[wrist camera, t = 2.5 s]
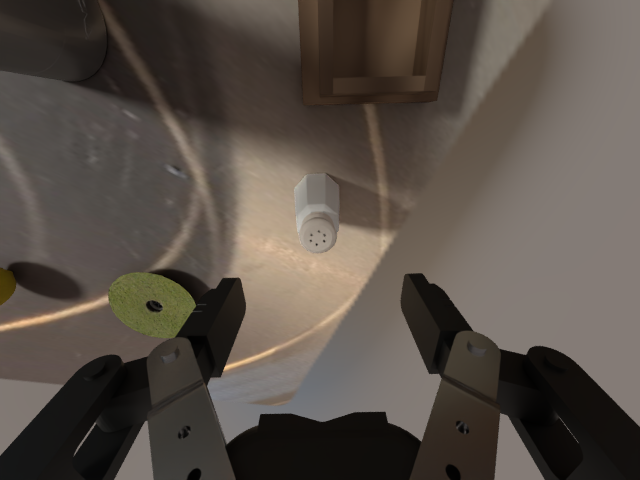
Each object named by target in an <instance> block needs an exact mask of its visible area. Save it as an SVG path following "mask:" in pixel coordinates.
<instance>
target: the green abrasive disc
mask: <svg viewBox="0 0 640 480" xmlns="http://www.w3.org/2000/svg"><path fill="white" fill-rule="evenodd" d="M108 296H109V303H110V306H111V308H112V310H113V312H114V313H115V314H116V316H117V317H118V318H119V319H120V320H121V321H122V322H123V323H124V324H125V325H127V326H128V327H130V328H132V329H134V330H135V331H138V332H140V333H142V334H145V335H148V336H152V337H159V338H173V337H175V336H176V335H177V333H178V332H179V331H180V329H181V328H182V326H183V325H184V323H185V322H186V320H187V319H188V317H189V316H190V314H191V313H192V312H193V310H194V308H195V307H196V304H195V302H194V300H193V298H192V296H191V295H190V294H189V292H187V291H186V290H185V289H184V288H183V287H181V286H180V285H179V284H177V283H175V282H174V281H172V280H170V279H168V278H165V277H163V276H160V275H156V274H151V273H144V272H142V273H141V272H139V273H138V272H136V273H130V274H126V275H124V276H121V277H119V278H118V279H116V281H114V282H113V283H112V285H111V286H110V289H109V295H108Z"/></svg>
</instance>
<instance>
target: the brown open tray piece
mask: <svg viewBox="0 0 640 480" xmlns="http://www.w3.org/2000/svg"><path fill="white" fill-rule="evenodd" d="M453 1H454V0H298V7H299V28H300V49H301V69H302V90H303V105H338V104H375V103H412V102H431V101H437V98H438V92H439V86H440V80H441V74H442V68H443V62H444V56H445V50H446V44H447V38H448V32H449V26H450V20H451V13H452V7H453Z"/></svg>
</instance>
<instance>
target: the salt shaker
mask: <svg viewBox="0 0 640 480" xmlns="http://www.w3.org/2000/svg"><path fill="white" fill-rule="evenodd" d="M294 194H295V212H296V222H297V231H298V234H299V241H300V243H301V245H302V246H303V248H305V249H306V250H307V251H310V252H312V253H323V252H326V251H328V250H330V249H331V248H332V247H333V246H334V244H335V242H336V239H337V232H338V230H339V207H340V199H339V185H338V184H337V183H336V182H335V181H333V180H332V179H331V178H330V177H329V176H328V175H327V174H326V173H318V174H306V175H305V176H304V177H303V179H302V180H301V181H300V182H299V183H298V185H297V186H296V187H295V188H294Z"/></svg>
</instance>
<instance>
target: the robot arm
mask: <svg viewBox="0 0 640 480" xmlns="http://www.w3.org/2000/svg"><path fill="white" fill-rule="evenodd" d="M106 48H107V35H106V27H105V23H104V19H103V14H102V12H101V9H100V7H99V5H98V2H97V0H0V71H7V72H13V73H18V74H24V75H31V76H37V77H43V78H50V79H56V80H62V81H81V80H84V79H87V78H89V77H90V76H92V75H93V74H95V73H96V72H97V70H98V69H99V68H100V67H101V65H102V63H103V60H104V58H105V55H106ZM401 308H402V312H403V314H404V316H405V319H406V321H407V324H408V326H409V328H410V331H411V332H412V335H413V338H414V340H415V342H416V345H417V347H418V349H419V351H420V354H421V356H422V358H423V361H424V363H425V365H426V368H427V370H428V372H429V374H440V376H441V378H442V379H441V382H440V386H439V389H438V392H437V395H436V398H435V402H434V404H433V407H432V411H431V414H430V417H429V420H428V423H427V426H426V430H425V432H424V436H423V439H422V442H421V441H420V440H419V439H418V438H416V437H415V436H413V435H412V434H411V433H409V432H408V431H406V430H404V429H402V428H401V427H398V426H396V425H393V424H390V423H388V421H387V417H386V412H355V413H351V414H348V415H345V416H342V417H339V418H335V419H332V420H329V421H326V422H319V421H316V420H312V419H308V418H305V417H301V416H298V415H294V414H261V415H260V419H259V425H258V426H255V427H252V428H250V429H248V430H246V431H244V432H243V433H241V434H239V435H238V436H237V437H235V438H234V439H233V440H231V441H230V442H229V443H228V444H227V442H226V439H225V437H224V434H223V431H222V428H221V425H220V422H219V419H218V417H217V414H216V411H215V408H214V405H213V402H212V399H211V396H210V393H209V390H208V388H207V385H208V382H209V380H210V378H213V377H221V375H222V372H223V370H224V367H225V365H226V362H227V360H228V357H229V354H230V352H231V349H232V347H233V344H234V341H235V339H236V336H237V334H238V331H239V328H240V326H241V323H242V321H243V318H244V315H245V311H246V302H245V297H244V293H243V288H242V283H241V280H240V278H223V279H222V280H221V281H220V283H219V285H218V286H217V288H216V289H211V290H209V291H208V292H207V293H206V294H204V295H203V296H202V298H201V299H200V301H199V302H198V304H197V306H196V307H195V308H194V310H193V312H192V313H191V314H190V316H189V317H188V319H187V320H186V322H185V323H184V325H183V326H182V328H181V329H180V331H179V332H178V333H177V335H176V336H175V338H172V339H169V340H167V341H165V342H163V343H161V344H159V345H158V346H157V347H156V348H155V349H153V351H152V352H151V353H150V354H149V356H148V357H144V358H141V359H137V360H134V361H130V362H127V363H123V361H122V360H121V358H120V357H119V356H117V355H106V356H102V357H99V358H97V359H94V360H93V361H91V362H89V363H87V364H86V365H84V366H83V367H82V368H80V369H79V370H78V371H77V372H76V373H75V374H74V375H73V376H72V377H71V378H70V379H69V380H68V382H67V383H66V384H65V385H64V386H63V387H62V388H61V389H60V391H59V392H58V393H57V394H56V395H55V396H54V397H53V398H52V399H51V400H50V402H49V403H48V404H47V405H46V406H45V407H44V408H43V409H42V410H41V411H40V413H39V414H38V415H37V416H36V417H35V418H34V419H33V420H32V422H30V424H29V425H28V426H27V427H26V428H25V429H24V430H23V431H22V432H21V433H20V435H19V436H18V437H17V438H16V439H15V440H14V441H13V442H12V443H11V444H10V446H9V447H8V448H7V449H6V450H5V451H4V452H3V453H2V454H1V456H0V480H114V478H115V477H116V475H117V473H118V471H119V469H120V467H121V465H122V463H123V462H124V460H125V458H126V456H127V454H128V452H129V450H130V448H131V446H132V444H133V443H134V440H135V439H136V437H137V435H138V433H139V431H140V429H141V427H142V426H143V424H144V422H145V421H147V420H148V429H149V439H150V449H151V458H152V468H153V478H154V480H494V478H495V466H496V454H497V443H498V432H499V421H500V413H502V414H505V415H508V417H509V418H510V420H511V422H512V424H513V426H514V427H515V429H516V431H517V432H518V434H519V436H520V438H521V439H522V441H523V443H524V445H525V446H526V448H527V450H528V451H529V453H530V455H531V456H532V458H533V460H534V462H535V463H536V465H537V467H538V469H539V470H540V472H541V474H542V475H543V477H544V479H545V480H640V427H639V426H638V425H637V424H636V423H635V422H634V421H633V420H632V419H631V418H630V417H629V416H628V415H627V414H626V413H625V412H624V411H623V410H622V409H621V408H620V407H619V406H618V405H617V404H616V402H615V401H614V400H613V399H612V398H610V396H609V395H608V394H607V393H606V392H605V391H604V390H603V389H602V388H601V387H600V386H599V385H598V384H597V383H596V382H595V381H594V380H593V379H592V378H591V377H590V376H589V375H588V374H587V373H586V372H585V371H584V370H583V369H582V368H581V367H580V366H579V365H578V364H576V362H574V361H573V360H572V359H571V358H569V357H568V356H566V355H565V354H563V353H561V352H559V351H557V350H554V349H551V348H548V347H543V346H534V347H532V348H530V349H529V351H528V352H527V354H526V355H523V354H519V353H515V352H510V351H506V350H502V349H499V348H498V346H497V345H496V344H495V343H494V342H493V341H492V340H491V339H489V338H488V337H486V336H484V335H482V334H480V333H477V332H474V331H473V330H472V328H471V327H470V326H469V324H468V323H467V321H466V320H465V319H464V317H463V316H462V315H461V313H460V312H459V311H458V309H457V308H456V307H455V306H454V304H453V302H452V301H451V300H450V298H449V297H448V295H447V294H446V293H445V291H443V289H441V288H440V287H438V286H437V285H435V284H429V282H428V281H427V279H426V278H425V276H424V275H423V274H422V273H416V274H405V276H404V281H403V287H402V294H401ZM559 417H560V418H561V419H560V418H559ZM561 420H562V421H563V422H564V423H563V422H562V421H561ZM95 422H96V425H95V426H94V428H93V429H92V431H91V433H90V434H89V435H88V437H87V438H86V439H85V441H84V442H83V444H82V446H81V447H80V448H79V450H78V451H77V453H76V454H75V456H74V453H75V451H76V449H77V447H78V446H79V444H80V443H81V441H82V440H83V439H84V437H85V436H86V434H87V433H88V431H89V430H90V428H91V427H92V426H93V424H94V423H95ZM564 424H565V425H566V426H567V427H566V426H565V425H564ZM567 428H568V429H569V430H570V431H569V430H568V429H567ZM570 432H571V433H572V434H573V435H572V434H571V433H570ZM573 436H574V437H575V438H576V439H575V438H574V437H573ZM576 440H577V441H578V442H577V441H576ZM73 456H74V457H73Z"/></svg>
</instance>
